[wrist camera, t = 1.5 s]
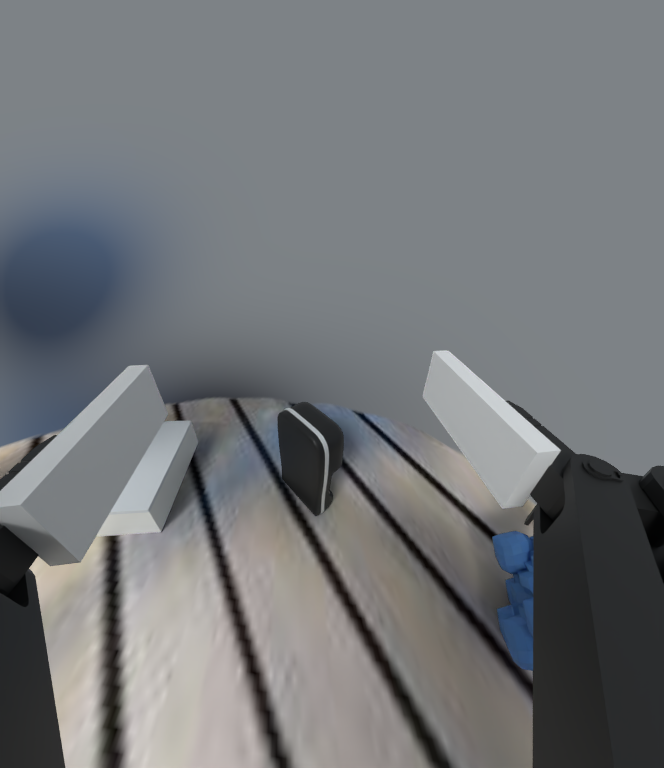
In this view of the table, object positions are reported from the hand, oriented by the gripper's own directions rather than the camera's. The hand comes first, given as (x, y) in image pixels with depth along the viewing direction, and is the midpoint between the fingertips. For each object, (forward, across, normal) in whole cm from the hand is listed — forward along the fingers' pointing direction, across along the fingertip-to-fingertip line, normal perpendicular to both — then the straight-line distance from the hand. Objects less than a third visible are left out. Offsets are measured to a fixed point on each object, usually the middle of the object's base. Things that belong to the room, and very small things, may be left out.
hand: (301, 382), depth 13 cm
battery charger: (+9, 0, -21) cm, 23 cm away
